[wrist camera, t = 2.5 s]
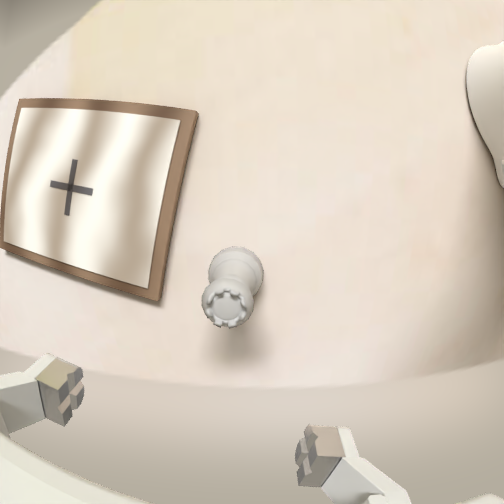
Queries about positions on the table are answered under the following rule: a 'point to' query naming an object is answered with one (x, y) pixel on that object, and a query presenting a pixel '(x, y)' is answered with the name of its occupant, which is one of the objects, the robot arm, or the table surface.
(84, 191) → the brown-bordered mat
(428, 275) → the table surface
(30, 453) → the robot arm
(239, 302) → the rook chess piece
